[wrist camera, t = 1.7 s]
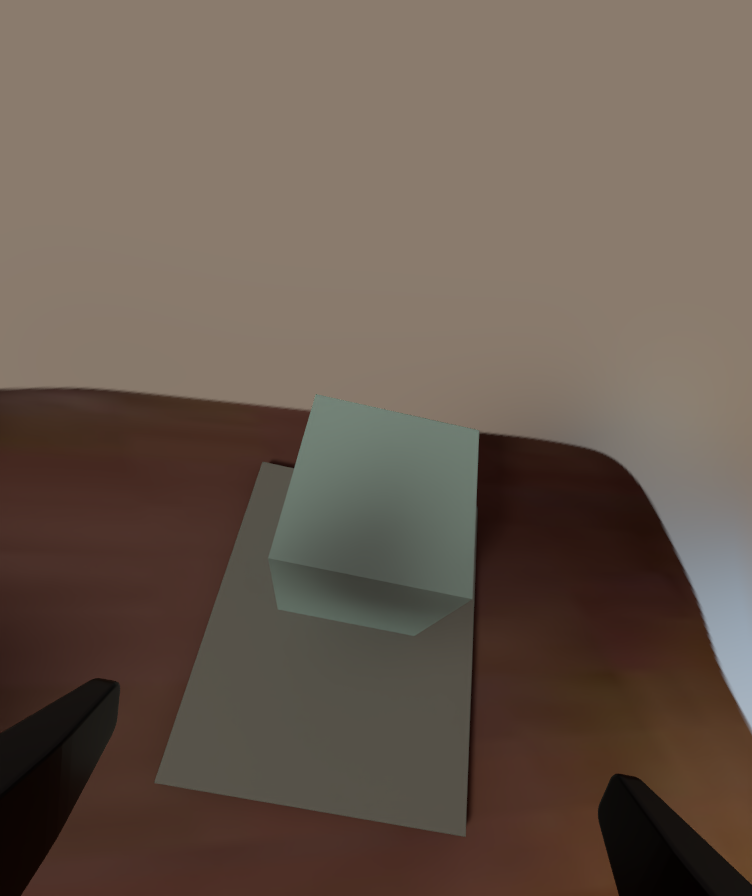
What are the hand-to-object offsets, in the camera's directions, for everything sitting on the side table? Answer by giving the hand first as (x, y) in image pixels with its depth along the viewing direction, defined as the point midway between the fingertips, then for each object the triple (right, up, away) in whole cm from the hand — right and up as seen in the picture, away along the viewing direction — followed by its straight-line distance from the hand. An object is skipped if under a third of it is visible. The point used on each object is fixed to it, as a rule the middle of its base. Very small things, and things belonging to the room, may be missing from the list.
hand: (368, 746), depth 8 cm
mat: (-1, -3, +13) cm, 13 cm away
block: (-1, 0, +14) cm, 14 cm away
